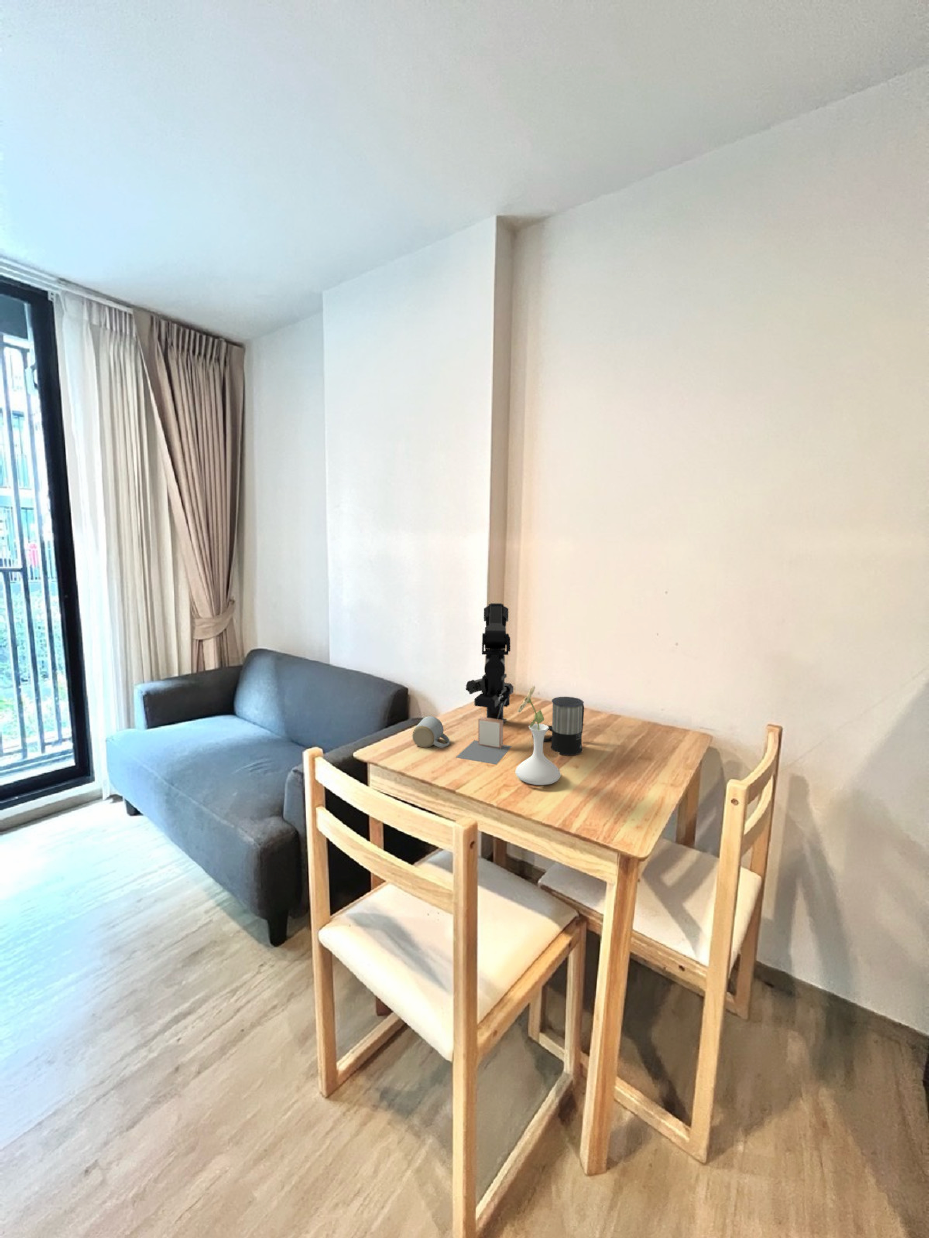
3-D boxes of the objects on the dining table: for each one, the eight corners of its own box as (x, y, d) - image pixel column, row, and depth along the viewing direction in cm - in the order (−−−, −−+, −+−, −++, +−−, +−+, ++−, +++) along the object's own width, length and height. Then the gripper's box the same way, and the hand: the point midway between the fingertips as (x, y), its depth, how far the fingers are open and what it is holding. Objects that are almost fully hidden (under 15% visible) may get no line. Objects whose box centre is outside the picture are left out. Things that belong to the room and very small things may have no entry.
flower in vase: (530, 765, 133) (532, 675, 130) (568, 777, 126) (571, 682, 122) (502, 782, 123) (503, 685, 120) (542, 797, 116) (544, 693, 112)
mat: (474, 741, 150) (474, 740, 150) (511, 747, 145) (511, 746, 145) (455, 758, 137) (455, 757, 137) (496, 766, 132) (496, 764, 132)
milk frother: (580, 758, 138) (582, 707, 136) (525, 750, 143) (526, 701, 141) (585, 740, 151) (587, 693, 149) (534, 734, 156) (535, 688, 155)
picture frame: (480, 742, 148) (480, 716, 147) (502, 745, 145) (503, 719, 144) (478, 744, 146) (478, 719, 145) (500, 748, 143) (500, 722, 142)
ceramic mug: (410, 748, 145) (410, 723, 144) (420, 738, 153) (420, 714, 152) (444, 752, 142) (445, 727, 141) (453, 742, 150) (453, 718, 149)
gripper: (480, 663, 157) (480, 710, 159) (457, 675, 140) (457, 728, 142) (514, 666, 153) (513, 714, 155) (494, 679, 136) (493, 733, 138)
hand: (494, 722), depth 148 cm, fingers closed
